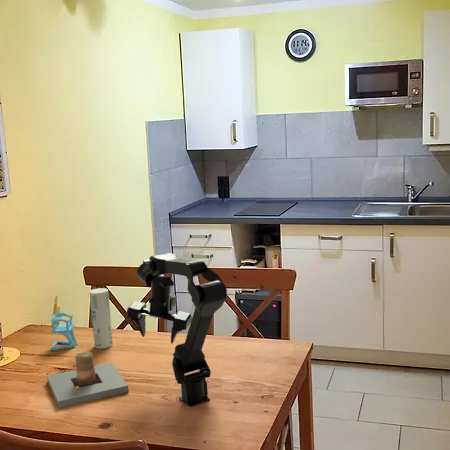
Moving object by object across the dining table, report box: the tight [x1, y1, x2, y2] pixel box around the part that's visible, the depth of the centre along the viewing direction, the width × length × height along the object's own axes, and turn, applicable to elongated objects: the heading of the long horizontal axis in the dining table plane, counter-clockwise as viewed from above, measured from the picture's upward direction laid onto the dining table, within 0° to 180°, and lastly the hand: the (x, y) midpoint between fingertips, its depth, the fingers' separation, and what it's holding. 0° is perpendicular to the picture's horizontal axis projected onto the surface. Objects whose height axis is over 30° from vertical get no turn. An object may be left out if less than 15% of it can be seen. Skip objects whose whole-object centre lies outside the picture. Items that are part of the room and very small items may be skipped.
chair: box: [49, 312, 78, 351], centre depth 222 cm, size 8×8×12 cm
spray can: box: [88, 287, 114, 349], centre depth 220 cm, size 6×6×20 cm
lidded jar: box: [75, 351, 97, 388], centre depth 187 cm, size 5×5×10 cm
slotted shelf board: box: [46, 362, 129, 409], centre depth 188 cm, size 20×20×2 cm
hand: (157, 339), depth 190 cm, fingers open, 9 cm apart
